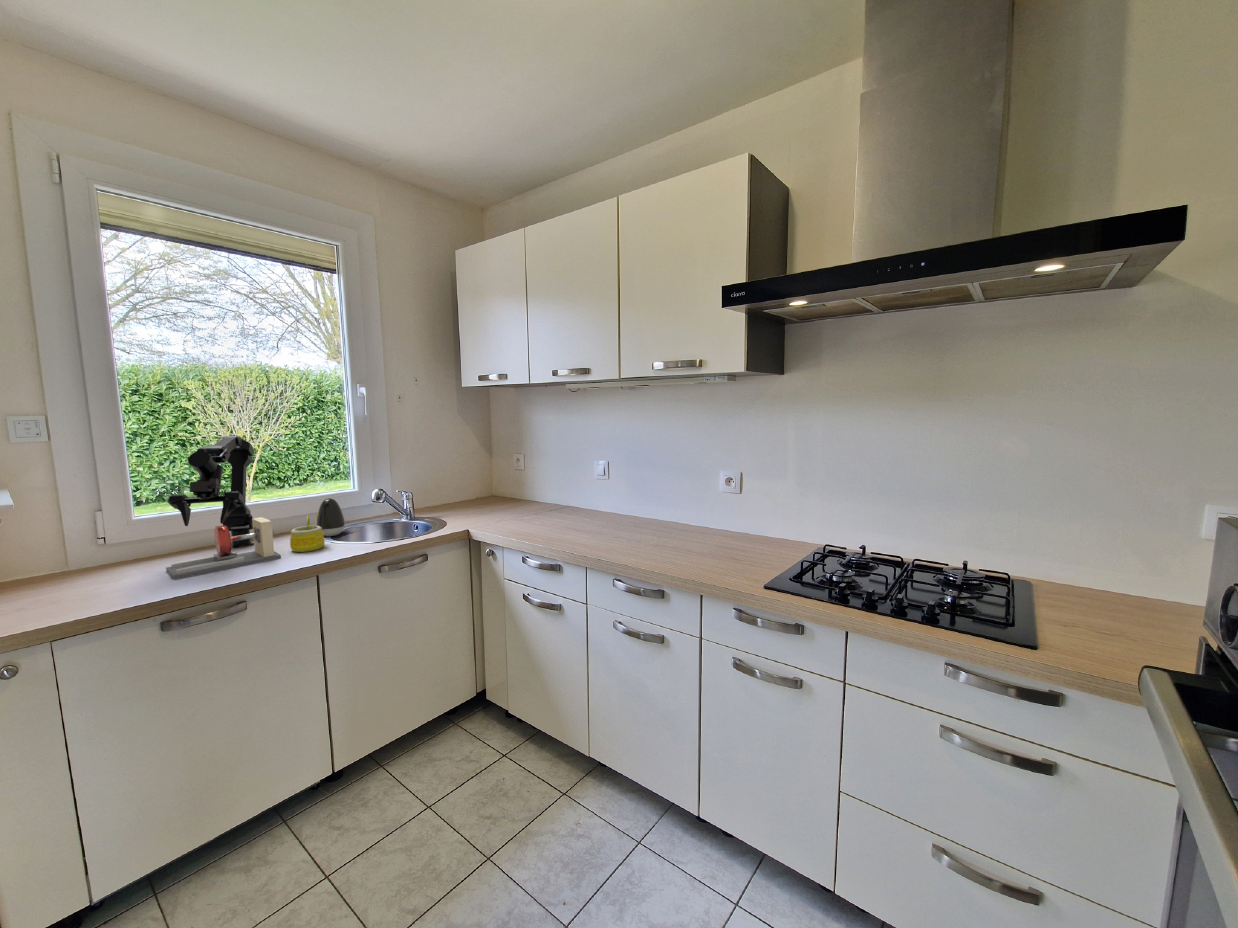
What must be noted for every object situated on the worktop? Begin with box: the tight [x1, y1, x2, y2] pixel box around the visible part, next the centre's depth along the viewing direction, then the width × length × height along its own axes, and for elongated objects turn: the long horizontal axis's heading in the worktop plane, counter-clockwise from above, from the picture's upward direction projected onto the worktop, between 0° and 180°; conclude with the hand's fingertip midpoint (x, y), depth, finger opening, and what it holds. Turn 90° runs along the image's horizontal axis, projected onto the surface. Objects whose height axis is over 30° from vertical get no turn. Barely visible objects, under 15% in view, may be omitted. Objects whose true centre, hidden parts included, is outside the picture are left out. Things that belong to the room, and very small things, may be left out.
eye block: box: [165, 516, 282, 581], centre depth 166 cm, size 13×28×13 cm, turn 140°
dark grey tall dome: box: [315, 497, 346, 537], centre depth 204 cm, size 10×10×15 cm
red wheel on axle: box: [212, 524, 274, 562], centre depth 170 cm, size 10×16×12 cm, turn 140°
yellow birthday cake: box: [289, 513, 325, 553], centre depth 184 cm, size 13×11×12 cm
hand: (203, 524), depth 160 cm, fingers open, 9 cm apart
